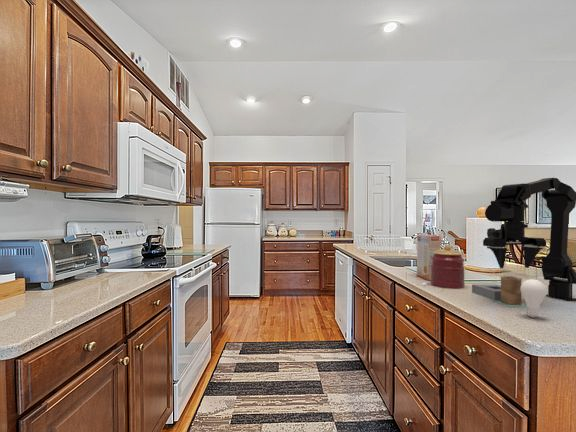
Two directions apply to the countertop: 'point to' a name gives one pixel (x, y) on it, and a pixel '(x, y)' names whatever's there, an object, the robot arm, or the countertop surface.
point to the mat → (511, 305)
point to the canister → (447, 268)
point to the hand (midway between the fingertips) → (514, 267)
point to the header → (487, 290)
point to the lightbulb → (533, 295)
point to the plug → (510, 290)
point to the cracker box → (426, 254)
